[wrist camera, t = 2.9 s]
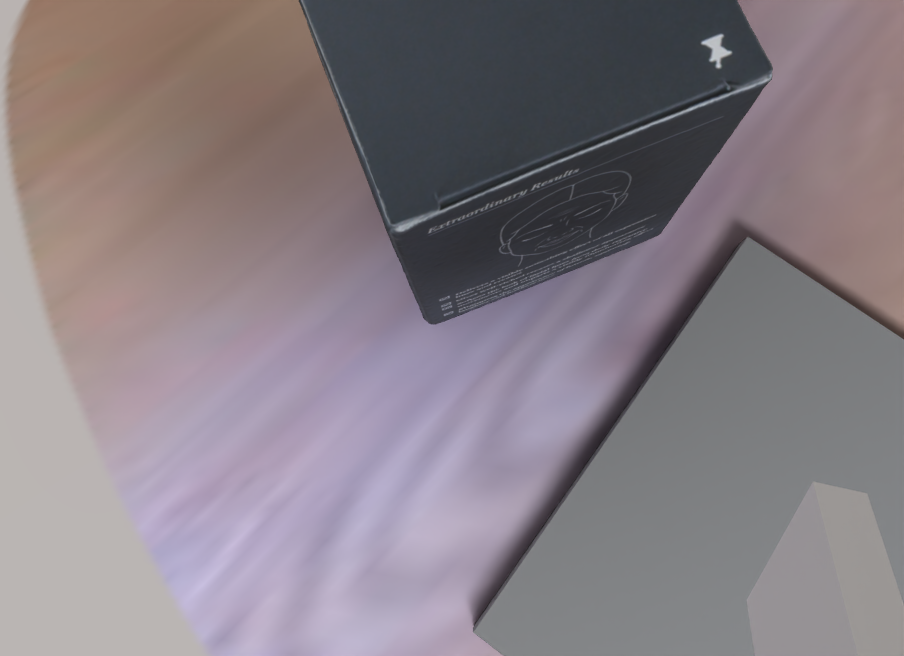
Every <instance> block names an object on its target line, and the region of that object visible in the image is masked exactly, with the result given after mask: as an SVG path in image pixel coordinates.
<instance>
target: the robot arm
mask: <svg viewBox="0 0 904 656" xmlns="http://www.w3.org/2000/svg"><path fill="white" fill-rule="evenodd" d="M747 606H748V612H749V619H750V626H751V633H752V640H753V647H754V654H755V656H904V604H903V601H902V598H901V595H900V592H899V589H898V586H897V583H896V580H895V577H894V574H893V571H892V568H891V565H890V561H889V558H888V555H887V552H886V549H885V546H884V543H883V540H882V537H881V534H880V531H879V528H878V525H877V522H876V519H875V516H874V513H873V510H872V507H871V504H870V501H869V498H868V495H867V493H863V492H859V491H854V490H850V489H845V488H841V487H836V486H832V485H827V484H822V483H818V482H812V484H811V486H810V487H809V489H808V491H807V493H806V495H805V496H804V498H803V500H802V502H801V504H800V505H799V507H798V509H797V511H796V512H795V514H794V516H793V518H792V520H791V521H790V523H789V525H788V527H787V529H786V530H785V532H784V534H783V536H782V538H781V539H780V541H779V543H778V545H777V546H776V548H775V550H774V552H773V554H772V555H771V557H770V559H769V561H768V563H767V564H766V566H765V568H764V570H763V572H762V573H761V575H760V577H759V579H758V580H757V582H756V584H755V586H754V588H753V589H752V591H751V593H750V595H749V597H748V598H747Z"/></svg>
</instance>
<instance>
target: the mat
mask: <svg viewBox="0 0 904 656" xmlns="http://www.w3.org/2000/svg"><path fill="white" fill-rule="evenodd" d="M812 482H818V483H822V484H827V485H832V486H836V487H841V488H845V489H850V490H854V491H859V492H863V493H867V495H868V498H869V501H870V504H871V507H872V510H873V513H874V516H875V519H876V522H877V525H878V528H879V531H880V534H881V537H882V540H883V543H884V546H885V549H886V552H887V555H888V558H889V561H890V565H891V568H892V571H893V574H894V577H895V580H896V583H897V586H898V589H899V592H900V595H901V598H902V601H903V604H904V339H902V338H901V337H899V336H898V335H896V334H895V333H893V332H892V331H890V330H889V329H887V328H886V327H884V326H883V325H881V324H880V323H878V322H877V321H875V320H874V319H872V318H871V317H869V316H868V315H866V314H864V313H863V312H861V311H860V310H858V309H857V308H855V307H854V306H852V305H851V304H849V303H848V302H846V301H845V300H843V299H842V298H840V297H839V296H837V295H836V294H834V293H833V292H831V291H830V290H828V289H827V288H825V287H824V286H822V285H821V284H819V283H817V282H816V281H814V280H813V279H811V278H810V277H808V276H807V275H805V274H804V273H802V272H801V271H799V270H798V269H796V268H795V267H793V266H792V265H790V264H789V263H787V262H786V261H784V260H783V259H781V258H780V257H778V256H777V255H775V254H774V253H772V252H770V251H769V250H767V249H766V248H764V247H763V246H761V245H760V244H758V243H757V242H755V241H754V240H752V239H751V238H749V237H747V238H746V239H744V240H743V241H742V242H741V243H740V244H739V245H738V246H737V248H736V249H735V251H734V252H733V254H732V255H731V257H730V258H729V259H728V261H727V262H726V264H725V265H724V267H723V268H722V270H721V271H720V272H719V274H718V275H717V277H716V278H715V280H714V281H713V282H712V284H711V285H710V287H709V288H708V290H707V291H706V293H705V294H704V295H703V297H702V298H701V300H700V301H699V303H698V304H697V306H696V307H695V308H694V310H693V311H692V313H691V314H690V316H689V317H688V319H687V320H686V321H685V323H684V324H683V326H682V327H681V329H680V330H679V331H678V333H677V334H676V336H675V337H674V339H673V340H672V342H671V343H670V344H669V346H668V347H667V349H666V350H665V352H664V353H663V355H662V356H661V357H660V359H659V360H658V362H657V363H656V365H655V366H654V367H653V369H652V370H651V372H650V373H649V375H648V376H647V378H646V379H645V380H644V382H643V383H642V385H641V386H640V388H639V389H638V391H637V392H636V393H635V395H634V396H633V398H632V399H631V401H630V402H629V404H628V405H627V406H626V408H625V409H624V411H623V412H622V414H621V415H620V416H619V418H618V419H617V421H616V422H615V424H614V425H613V427H612V428H611V429H610V431H609V432H608V434H607V435H606V437H605V438H604V440H603V441H602V442H601V444H600V445H599V447H598V448H597V450H596V451H595V452H594V454H593V455H592V457H591V458H590V460H589V461H588V463H587V464H586V465H585V467H584V468H583V470H582V471H581V473H580V474H579V476H578V477H577V478H576V480H575V481H574V483H573V484H572V486H571V487H570V489H569V490H568V491H567V493H566V494H565V496H564V497H563V499H562V500H561V501H560V503H559V504H558V506H557V507H556V509H555V510H554V512H553V513H552V514H551V516H550V517H549V519H548V520H547V522H546V523H545V525H544V526H543V527H542V529H541V530H540V532H539V533H538V535H537V536H536V537H535V539H534V540H533V542H532V543H531V545H530V546H529V548H528V549H527V550H526V552H525V553H524V555H523V556H522V558H521V559H520V561H519V562H518V563H517V565H516V566H515V568H514V569H513V571H512V572H511V574H510V575H509V576H508V578H507V579H506V581H505V582H504V584H503V585H502V586H501V588H500V589H499V591H498V592H497V594H496V595H495V597H494V598H493V599H492V601H491V602H490V604H489V605H488V607H487V608H486V610H485V611H484V612H483V614H482V615H481V617H480V618H479V620H478V621H477V622H476V624H475V625H474V627H473V633H475V634H476V635H477V636H479V637H480V638H481V639H483V640H484V641H485V642H486V643H488V644H489V645H490V646H492V647H493V648H494V649H496V650H497V651H498V652H500V653H501V654H502V655H503V656H755V654H754V647H753V640H752V633H751V626H750V619H749V612H748V606H747V598H748V597H749V595H750V593H751V591H752V589H753V588H754V586H755V584H756V582H757V580H758V579H759V577H760V575H761V573H762V572H763V570H764V568H765V566H766V564H767V563H768V561H769V559H770V557H771V555H772V554H773V552H774V550H775V548H776V546H777V545H778V543H779V541H780V539H781V538H782V536H783V534H784V532H785V530H786V529H787V527H788V525H789V523H790V521H791V520H792V518H793V516H794V514H795V512H796V511H797V509H798V507H799V505H800V504H801V502H802V500H803V498H804V496H805V495H806V493H807V491H808V489H809V487H810V486H811V484H812Z"/></svg>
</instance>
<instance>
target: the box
mask: <svg viewBox="0 0 904 656" xmlns="http://www.w3.org/2000/svg"><path fill="white" fill-rule="evenodd" d="M299 2H300V5H301V7H302V10H303V12H304V15H305V18H306V20H307V24H308V26H309V29H310V32H311V35H312V38H313V40H314V43H315V46H316V48H317V51H318V54H319V57H320V59H321V62H322V65H323V67H324V70H325V73H326V75H327V78H328V80H329V83H330V85H331V88H332V91H333V93H334V96H335V98H336V101H337V103H338V106H339V109H340V112H341V114H342V116H343V119H344V122H345V124H346V127H347V129H348V132H349V135H350V137H351V140H352V143H353V145H354V148H355V150H356V153H357V155H358V158H359V161H360V163H361V166H362V168H363V171H364V173H365V176H366V178H367V181H368V184H369V186H370V189H371V191H372V194H373V197H374V199H375V202H376V204H377V207H378V209H379V212H380V214H381V217H382V219H383V222H384V225H385V228H386V231H387V233H388V235H389V238H390V240H391V242H392V245H393V248H394V250H395V252H396V254H397V257H398V258H399V261H400V263H401V265H402V268H403V271H404V272H405V274H406V277H407V280H408V282H409V285H410V287H411V289H412V291H413V294H414V296H415V299H416V301H417V303H418V305H419V307H420V310H421V313H422V315H423V318H424V319H425V320H426V321H427V322H428V323H429V324H437V323H440V322H443V321H446V320H449V319H451V318H454V317H456V316H459V315H462V314H464V313H467V312H469V311H471V310H474V309H477V308H479V307H482V306H484V305H486V304H489V303H492V302H494V301H497V300H499V299H501V298H504V297H507V296H510V295H512V294H514V293H517V292H519V291H522V290H525V289H527V288H529V287H532V286H534V285H537V284H539V283H542V282H544V281H546V280H549V279H551V278H554V277H557V276H559V275H562V274H564V273H567V272H569V271H572V270H574V269H577V268H579V267H582V266H584V265H587V264H589V263H592V262H594V261H597V260H599V259H601V258H604V257H606V256H609V255H612V254H614V253H616V252H619V251H621V250H624V249H626V248H629V247H632V246H634V245H637V244H639V243H641V242H644V241H646V240H648V239H651V238H653V237H655V236H658V235H659V234H660V233H661V232H662V231H663V229H664V228H665V226H666V225H667V224H668V222H669V221H670V220H671V218H672V217H673V215H674V214H675V212H676V211H677V209H678V208H679V207H680V205H681V204H682V203H683V201H684V200H685V198H686V197H687V195H688V194H689V193H690V191H691V190H692V189H693V187H694V186H695V184H696V183H697V182H698V180H699V179H700V177H701V176H702V175H703V173H704V172H705V170H706V169H707V168H708V166H709V165H710V164H711V163H712V161H713V159H714V158H715V157H716V155H717V154H718V153H719V152H720V150H721V148H722V147H723V146H724V144H725V143H726V141H727V140H728V139H729V137H730V136H731V135H732V133H733V132H734V130H735V128H736V127H737V126H738V124H739V123H740V121H741V120H742V119H743V117H744V116H745V115H746V113H747V112H748V111H749V109H750V108H751V106H752V105H753V103H754V102H755V100H756V99H757V97H758V96H759V94H760V93H761V91H762V89H763V88H764V87H765V86H766V85H767V84H768V83H769V82H770V81H771V80H772V70H773V68H772V65H771V62H770V60H769V59H768V57H767V56H766V54H765V52H764V50H763V48H762V47H761V45H760V43H759V41H758V39H757V38H756V36H755V34H754V32H753V30H752V28H751V27H750V25H749V23H748V21H747V19H746V17H745V15H744V13H743V11H742V9H741V7H740V5H739V3H738V2H737V0H299Z"/></svg>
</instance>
